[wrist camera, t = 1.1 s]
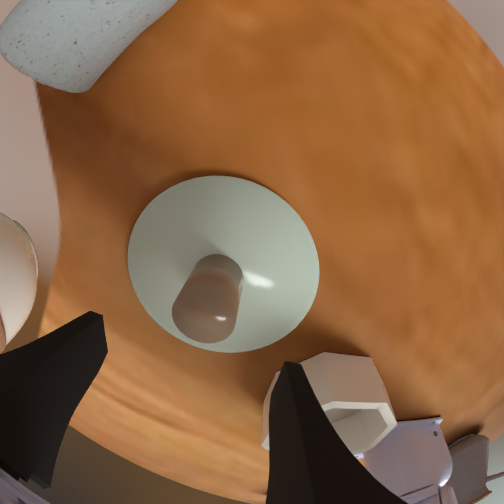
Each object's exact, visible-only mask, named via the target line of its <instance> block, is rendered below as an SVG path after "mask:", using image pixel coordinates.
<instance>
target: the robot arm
mask: <svg viewBox="0 0 504 504" xmlns="http://www.w3.org/2000/svg"><path fill="white" fill-rule="evenodd" d="M107 352H108V349H107V343H106V337H105V330H104V322H103V315H100V314H98V313H95V312H92V311H89V312H87V313H85V314H83V315H81V316H80V317H78V318H76V319H74V320H72V321H71V322H69V323H67V324H65V325H63V326H62V327H60V328H58V329H56V330H54V331H53V332H51V333H49V334H47V335H45V336H43V337H41V338H39V339H37V340H35V341H33V342H31V343H29V344H27V345H24V346H22V347H20V348H17V349H14V350H12V351H9V352H6V353H3V354H0V504H50V503H48V502H47V501H45V500H44V499H42V498H40V497H39V496H37V495H36V494H34V493H33V492H31V491H30V490H29V489H27V488H26V487H25V486H23V485H22V484H20V483H19V482H18V479H19V477H20V478H21V479H23V480H24V481H26V482H27V481H28V480H29V479H30V480H32V481H33V482H34V483H36V484H37V485H39V486H41V487H42V488H49V487H51V480H52V475H53V470H54V466H55V462H56V458H57V455H58V451H59V448H60V445H61V442H62V439H63V436H64V433H65V431H66V428H67V426H68V424H69V421H70V419H71V417H72V415H73V413H74V411H75V409H76V407H77V406H78V404H79V402H80V401H81V399H82V398H83V396H84V394H85V393H86V391H87V389H88V388H89V386H90V385H91V383H92V381H93V380H94V378H95V377H96V375H97V373H98V372H99V370H100V368H101V366H102V364H103V361H104V359H105V357H106V355H107ZM442 420H443V419H442V417H438V418H431V419H422V420H413V421H401V422H397V425H396V426H395V427H394V428H393V429H392V430H391V431H390V432H389V433H388V434H387V435H386V436H385V437H384V438H383V439H382V440H381V441H380V442H379V443H378V444H377V445H376V446H375V447H373V448H372V449H370V450H367V451H365V452H362V453H359V454H356V455H353V454H352V453H351V451H350V450H349V449H348V448H347V446H346V445H345V444H344V442H343V441H342V439H341V438H340V437H339V435H338V434H337V432H336V431H335V429H334V427H333V426H332V424H331V423H330V421H329V419H328V418H327V416H326V414H325V412H324V410H323V409H322V407H321V405H320V403H319V401H318V399H317V397H316V395H315V393H314V391H313V389H312V387H311V385H310V383H309V381H308V378H307V376H306V374H305V372H304V369H303V367H302V365H301V364H299V363H292V362H286V361H285V362H284V364H283V367H282V369H281V372H280V374H279V376H278V379H277V381H276V383H275V385H274V388H273V390H272V392H271V397H270V406H269V459H270V467H269V481H268V490H267V498H266V504H458V502H457V499H456V496H455V493H454V490H453V488H452V487H451V486H447V485H445V483H446V482H447V481H448V479H449V478H450V476H451V473H452V458H451V455H450V452H449V449H448V447H447V444H446V441H445V439H444V436H443V434H442V431H441V429H440V426H439V424H440V423H441V422H442ZM356 458H364V462H365V467H366V468H365V467H364V466H363V465H362V464H361V463H360V462H359V461H358V460H357V459H356Z"/></svg>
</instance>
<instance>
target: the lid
mask: <svg viewBox="0 0 504 504" xmlns="http://www.w3.org/2000/svg"><path fill="white" fill-rule="evenodd" d="M128 269H129V275H130V279H131V282H132V286H133V289H134V291H135V293H136V295H137V297H138V299H139V301H140V302H141V304H142V306H143V307H144V309H145V310H146V311H147V313H148V314H149V315H150V316H151V317H152V318H153V320H154V321H155V322H156V323H157V324H158V325H160V326H161V327H162V328H163V329H164V330H166V331H167V332H168V333H170V334H171V335H173V336H174V337H176V338H178V339H180V340H182V341H183V342H185V343H188V344H190V345H193V346H195V347H198V348H202V349H205V350H210V351H215V352H226V353H234V352H245V351H251V350H255V349H259V348H262V347H265V346H268V345H270V344H272V343H274V342H276V341H278V340H280V339H281V338H283V337H284V336H286V335H287V334H289V333H290V332H291V331H292V330H293V329H294V328H296V327H297V326H298V324H299V323H300V322H301V321H302V320H303V319H304V317H305V316H306V314H307V313H308V311H309V309H310V307H311V305H312V303H313V301H314V299H315V295H316V292H317V288H318V282H319V261H318V255H317V250H316V247H315V244H314V241H313V239H312V236H311V234H310V232H309V230H308V228H307V226H306V224H305V223H304V222H303V220H302V219H301V217H300V216H299V214H298V213H297V212H296V211H295V210H294V209H293V208H292V207H291V206H290V205H289V204H288V203H287V202H286V201H285V200H284V199H282V198H281V197H280V196H279V195H277V194H276V193H274V192H272V191H271V190H269V189H267V188H266V187H264V186H261V185H259V184H257V183H254V182H252V181H249V180H245V179H242V178H238V177H231V176H203V177H197V178H193V179H189V180H186V181H183V182H181V183H179V184H176V185H174V186H172V187H170V188H168V189H167V190H165V191H164V192H162V193H161V194H159V195H158V196H157V197H156V198H154V199H153V200H152V201H151V202H150V203H149V204H148V205H147V207H146V208H145V209H144V210H143V212H142V213H141V214H140V216H139V218H138V220H137V221H136V223H135V225H134V228H133V230H132V233H131V236H130V241H129V245H128Z"/></svg>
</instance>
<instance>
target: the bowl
mask: <svg viewBox="0 0 504 504" xmlns="http://www.w3.org/2000/svg"><path fill="white" fill-rule="evenodd" d="M299 364H301V365H302V367H303V369H304V372H305V374H306V376H307V378H308V381H309V383H310V385H311V387H312V389H313V391H314V393H315V395H316V397H317V399H318V401H319V403H320V405H321V407H322V409H323V410H324V412H325V414H326V416H327V418H328V419H329V421H330V423H331V424H332V426H333V427H334V429H335V431H336V432H337V434H338V435H339V437H340V438H341V439H342V441H343V442H344V444H345V445H346V446H347V448H348V449H349V450H350V451H351V453H352V454H353V455H356V454H359V453H362V452H365V451H367V450H370V449H372V448H373V447H375V446H376V445H377V444H378V443H379V442H380V441H381V440H382V439H383V438H384V437H385V436H386V435H387V434H388V433H389V432H390V431H391V430H392V429H393V428H394V427H395V426H396V425H397V421H396V418H395V415H394V412H393V409H392V406H391V403H390V400H389V397H388V394H387V391H386V388H385V386H384V383H383V381H382V379H381V377H380V375H379V373H378V371H377V369H376V366H375V364H374V362H373V360H372V358H371V357H362V356H353V355H344V354H336V353H329V352H323V353H320V354H318V355H316V356H314V357H311V358H309V359H307V360H305V361H302V362H300V363H299ZM280 372H281V370H280V371H278V372H276V374H275V376H274V378H273V381H272V383H271V385H270V388H269V390H268V393H267V395H266V397H265V399H264V405H263V423H262V440H261V446H262V447H264V448H265V449H267V450H268V451H269V406H270V397H271V392H272V390H273V388H274V385H275V383H276V381H277V379H278V376H279V374H280Z"/></svg>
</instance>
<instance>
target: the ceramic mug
mask: <svg viewBox="0 0 504 504" xmlns="http://www.w3.org/2000/svg"><path fill="white" fill-rule="evenodd" d="M177 1H178V0H21V1H20V2H19V3H18V4H17V5H16V6H15V8H14V9H13V10H12V11H11V12H10V14H9V15H8V16H7V18H6V19H5V20H4V22H3V23H2V24H1V26H0V53H1V54H2V56H3V57H4V58H5V60H6V61H7V62H8V63H10V64H11V65H12V66H13V67H14V68H15V69H17V70H18V71H20V72H21V73H23V74H25V75H27V76H30V77H31V78H33V79H34V80H36V81H38V82H39V83H41V84H44V85H47V86H50V87H53V88H55V89H59V90H63V91H67V92H72V93H82V92H85V91H87V90H89V89H90V88H91V87H92V86H93V85H94V83H95V82H96V81H97V80H98V78H99V77H100V76H101V75H102V73H103V72H104V71H105V70H106V69H107V68H108V67H109V66H110V65H111V64H112V63H113V61H114V60H115V59H116V58H117V57H118V56H119V55H120V54H121V53H122V52H123V51H124V50H125V49H126V48H127V47H128V46H129V45H130V44H131V43H132V42H133V41H134V40H135V39H136V38H137V37H138V36H139V35H140V34H141V33H142V32H143V31H144V30H145V29H146V28H148V27H149V26H150V25H151V24H152V23H154V22H155V21H156V20H157V19H159V18H160V17H161V16H162V15H163V14H165V13H166V12H167V11H168V10H169V9H170V8H171V7H172V6H173V5H174V4H175V3H176V2H177Z"/></svg>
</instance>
